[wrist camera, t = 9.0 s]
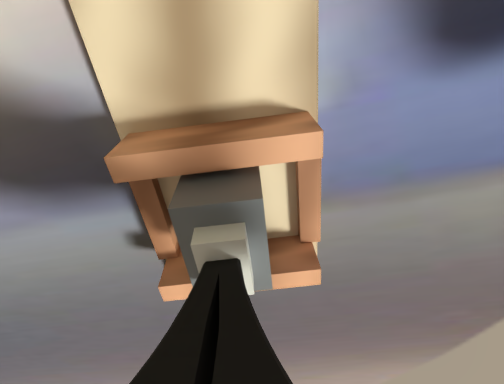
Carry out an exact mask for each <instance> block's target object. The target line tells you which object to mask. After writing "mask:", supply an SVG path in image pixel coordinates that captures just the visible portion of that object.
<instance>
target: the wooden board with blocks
mask: <svg viewBox="0 0 504 384" xmlns="http://www.w3.org/2000/svg"><path fill="white" fill-rule="evenodd" d="M68 1H69V3H70V6H71V9H72V11H73V14H74V17H75V19H76V22H77V25H78V27H79V30H80V33H81V36H82V38H83V41H84V44H85V46H86V49H87V52H88V54H89V57H90V60H91V62H92V65H93V68H94V70H95V73H96V76H97V78H98V81H99V84H100V86H101V89H102V92H103V94H104V97H105V100H106V102H107V105H108V108H109V110H110V113H111V116H112V118H113V121H114V124H115V126H116V129H117V132H118V134H119V137H120V140H121V141H120V142H119V143H118V144H117V145H116V146H115V147H114V148H113V149H112V150H111V151H110V152H109V153H108V154H107V155H106V156H105V157H104V160H105V163H106V165H107V167H108V170H109V172H110V174H111V177H112V179H113V182H114V183H122V182H129V184H130V187H131V189H132V192H133V194H134V197H135V199H136V202H137V205H138V207H139V210H140V212H141V215H142V217H143V220H144V223H145V225H146V228H147V230H148V233H149V235H150V238H151V240H152V243H153V246H154V248H155V251H156V253H157V256H158V258H159V260H160V259H165V260H166V263H165V266H164V270H163V273H162V276H161V279H160V282H159V286H158V288H159V291H160V293H161V295H162V298H163V300H164V301H172V300H181V299H187V297H188V295H189V293H190V292H191V290H192V288H193V286H192V283H191V280H190V277H189V274H188V271H187V268H186V265H185V262H184V259H183V256H182V252H181V249H180V246H179V243H178V240H177V237H176V234H175V231H174V228H173V225H172V221H171V218H170V215H169V212H168V207H169V204H170V202H171V199H172V197H173V194H174V192H175V189H176V187H177V184H178V182H179V179H180V177H181V175H188V174H196V173H205V172H213V171H221V170H229V169H238V168H246V167H254V166H259V170H260V178H261V186H262V194H263V203H264V212H265V222H266V231H267V240H268V249H269V259H270V268H271V277H272V286H273V289H282V288H291V287H301V286H310V285H319V284H321V267H320V264H319V261H318V258H317V242H319V241H320V227H321V158H323V130H322V129H321V127H320V126H319V125H318V0H68ZM273 289H271V290H273ZM261 291H264V290H261ZM254 292H255V291H254Z"/></svg>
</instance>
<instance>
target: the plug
mask: <svg viewBox="0 0 504 384" xmlns="http://www.w3.org/2000/svg"><path fill="white" fill-rule="evenodd" d="M168 212H169V215H170V218H171V221H172V225H173V228H174V231H175V234H176V237H177V240H178V243H179V246H180V249H181V252H182V256H183V259H184V262H185V265H186V268H187V271H188V274H189V277H190V280H191V283H192V286H194V284H195V282H196V280H197V278H198V275H199V273H200V271H201V269H202V266H203V264H204V263H205V262H206V261H216V260H225V259H233V258H238V259H240V261H241V266H242V272H243V277H244V282H245V287H246V290H247V293H248V295H254V291H261V290H271V289H273V286H272V277H271V268H270V259H269V249H268V240H267V231H266V222H265V212H264V203H263V194H262V186H261V178H260V170H259V166H254V167H246V168H238V169H229V170H221V171H213V172H205V173H196V174H188V175H181V177H180V179H179V182H178V184H177V187H176V189H175V192H174V194H173V197H172V199H171V202H170V204H169V207H168Z"/></svg>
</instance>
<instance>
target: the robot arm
mask: <svg viewBox="0 0 504 384" xmlns="http://www.w3.org/2000/svg"><path fill="white" fill-rule="evenodd" d="M129 384H293V383H292V381H291V380H290V378H289V376H288V375H287V373H286V371H285V370H284V368H283V366H282V365H281V363H280V361H279V360H278V358H277V356H276V354H275V352H274V350H273V349H272V347H271V345H270V343H269V341H268V339H267V337H266V335H265V333H264V331H263V329H262V327H261V325H260V323H259V320H258V318H257V316H256V313H255V311H254V309H253V306H252V304H251V301H250V298H249V295H248V293H247V290H246V287H245V282H244V277H243V272H242V266H241V261H240V259H238V258H233V259H225V260H216V261H206V262H205V263H204V264H203V266H202V269H201V271H200V273H199V275H198V278H197V280H196V282H195V284H194V286H193V288H192V290H191V292H190V293H189V295H188V297H187V299H186V301H185V303H184V305H183V306H182V308H181V310H180V312H179V313H178V315H177V317H176V318H175V320H174V322H173V323H172V325H171V327H170V328H169V330H168V331H167V333H166V334H165V336H164V337H163V339H162V340H161V342H160V343H159V345H158V346H157V348H156V349H155V351H154V352H153V353H152V355H151V356H150V358H149V359H148V360H147V362H146V363H145V364H144V365H143V367H142V368H141V369H140V371H139V372H138V373H137V375H136V376H135V377H134V378H133V380H132V381H131V382H130V383H129Z"/></svg>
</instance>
